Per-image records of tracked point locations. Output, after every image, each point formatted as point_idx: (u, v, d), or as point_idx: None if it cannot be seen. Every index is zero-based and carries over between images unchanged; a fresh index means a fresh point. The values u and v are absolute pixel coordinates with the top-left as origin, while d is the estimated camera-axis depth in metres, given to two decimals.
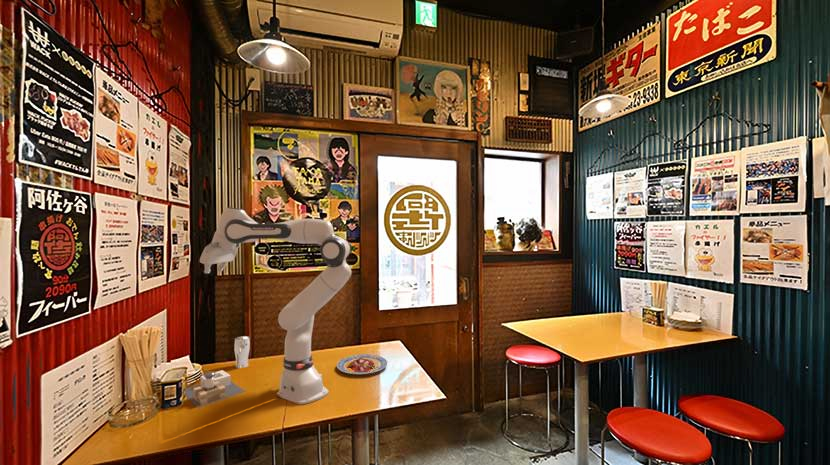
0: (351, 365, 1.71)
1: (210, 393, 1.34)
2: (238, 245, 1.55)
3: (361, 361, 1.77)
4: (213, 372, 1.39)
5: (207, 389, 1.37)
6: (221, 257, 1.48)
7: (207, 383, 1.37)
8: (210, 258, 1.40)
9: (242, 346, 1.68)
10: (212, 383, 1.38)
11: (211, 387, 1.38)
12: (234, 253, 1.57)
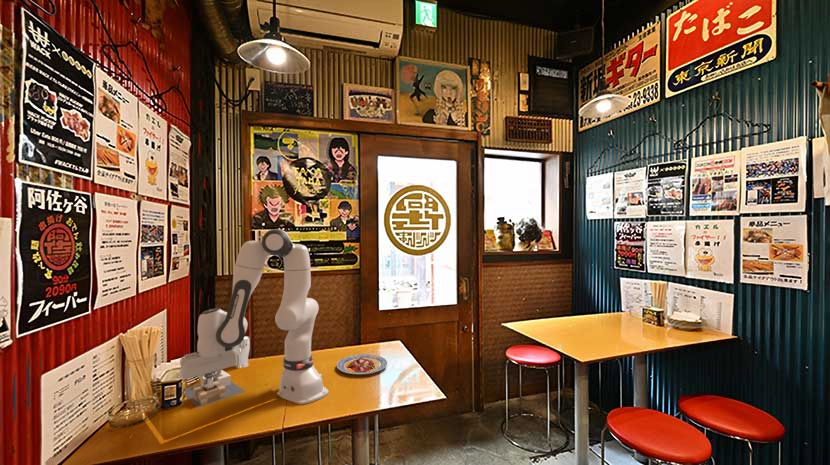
0: (351, 365, 1.71)
1: (210, 393, 1.34)
2: (231, 347, 1.41)
3: (361, 361, 1.77)
4: (213, 372, 1.39)
5: (207, 389, 1.37)
6: (209, 366, 1.37)
7: (207, 383, 1.37)
8: (187, 372, 1.31)
9: (242, 346, 1.68)
10: (212, 383, 1.38)
11: (211, 387, 1.38)
12: (233, 356, 1.43)
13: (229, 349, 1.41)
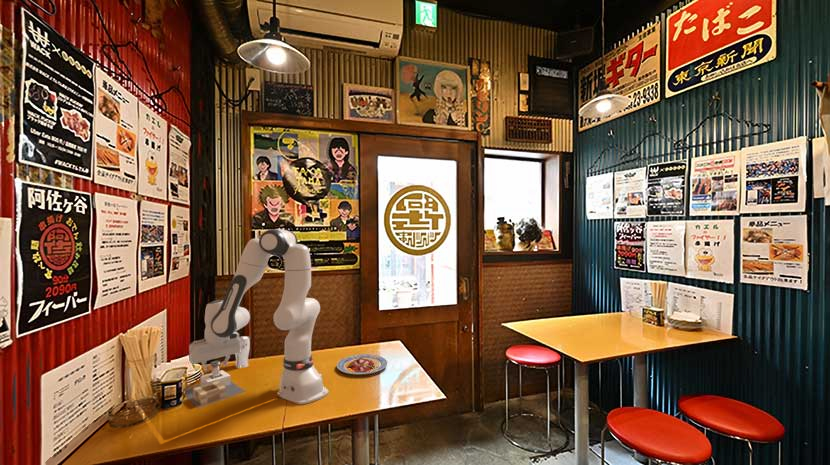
0: (351, 365, 1.71)
1: (210, 393, 1.34)
2: (235, 336, 1.53)
3: (361, 361, 1.77)
4: (219, 361, 1.50)
5: (213, 377, 1.48)
6: (215, 352, 1.48)
7: (213, 371, 1.48)
8: (195, 357, 1.42)
9: (242, 346, 1.68)
10: (218, 371, 1.49)
11: (217, 375, 1.49)
12: (237, 344, 1.55)
13: (234, 337, 1.52)
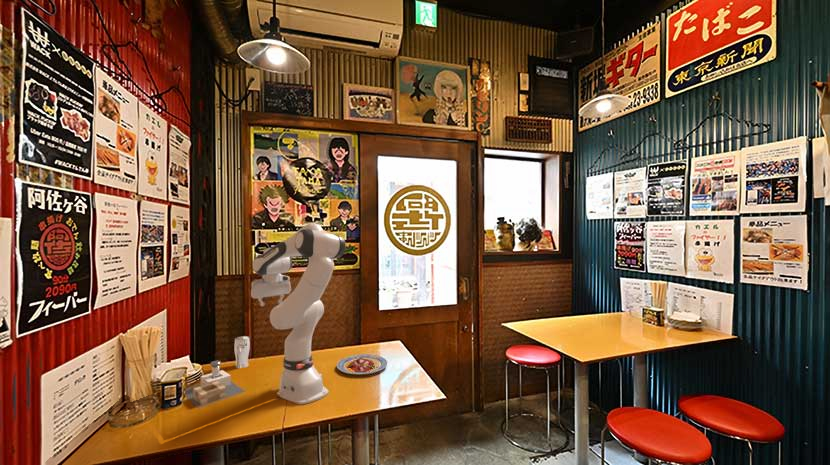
0: (351, 365, 1.71)
1: (210, 393, 1.34)
2: (286, 278, 1.80)
3: (361, 361, 1.77)
4: (219, 361, 1.50)
5: (213, 377, 1.48)
6: (271, 290, 1.75)
7: (213, 371, 1.48)
8: (256, 292, 1.69)
9: (242, 346, 1.68)
10: (218, 371, 1.49)
11: (217, 375, 1.49)
12: (288, 286, 1.82)
13: (285, 279, 1.79)
